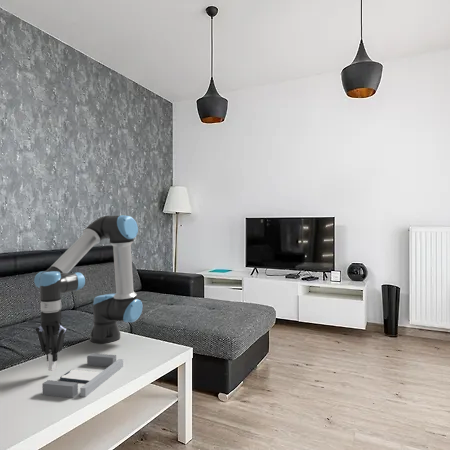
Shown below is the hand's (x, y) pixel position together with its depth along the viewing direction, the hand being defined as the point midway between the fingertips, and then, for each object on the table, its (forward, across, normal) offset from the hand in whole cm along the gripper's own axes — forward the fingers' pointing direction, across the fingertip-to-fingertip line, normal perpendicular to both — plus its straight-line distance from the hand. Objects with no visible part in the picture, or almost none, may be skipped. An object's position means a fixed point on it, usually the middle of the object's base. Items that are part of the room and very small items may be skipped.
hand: (52, 369), depth 150 cm
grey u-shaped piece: (+2, +16, 0) cm, 16 cm away
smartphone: (+3, +14, 0) cm, 14 cm away
